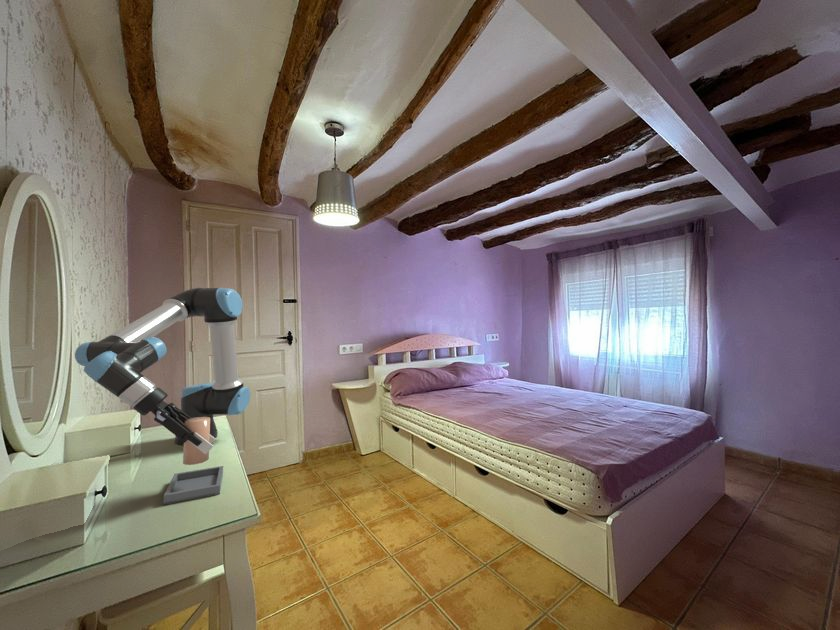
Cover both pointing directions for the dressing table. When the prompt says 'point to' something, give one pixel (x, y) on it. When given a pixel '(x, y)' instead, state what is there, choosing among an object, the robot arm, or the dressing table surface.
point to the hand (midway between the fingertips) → (210, 446)
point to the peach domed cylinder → (190, 451)
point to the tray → (194, 485)
